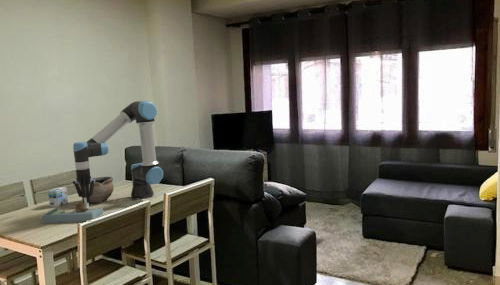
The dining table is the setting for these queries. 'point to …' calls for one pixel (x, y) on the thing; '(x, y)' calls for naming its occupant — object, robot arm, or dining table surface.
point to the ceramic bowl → (101, 189)
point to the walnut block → (80, 207)
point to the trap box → (70, 216)
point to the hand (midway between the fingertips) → (87, 208)
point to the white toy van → (58, 196)
